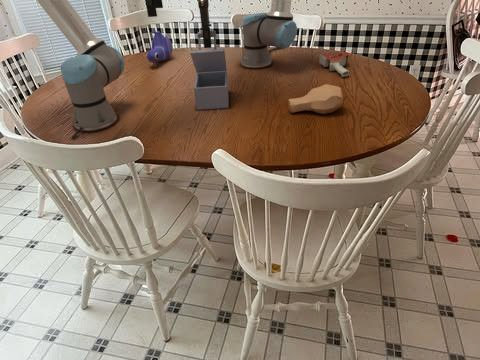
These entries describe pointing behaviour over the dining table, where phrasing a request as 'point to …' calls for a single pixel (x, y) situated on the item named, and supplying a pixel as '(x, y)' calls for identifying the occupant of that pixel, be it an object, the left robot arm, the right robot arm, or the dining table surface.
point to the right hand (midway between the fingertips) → (207, 46)
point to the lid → (209, 57)
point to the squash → (319, 100)
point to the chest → (211, 90)
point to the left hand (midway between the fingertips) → (156, 12)
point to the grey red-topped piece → (335, 62)
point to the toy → (159, 48)
